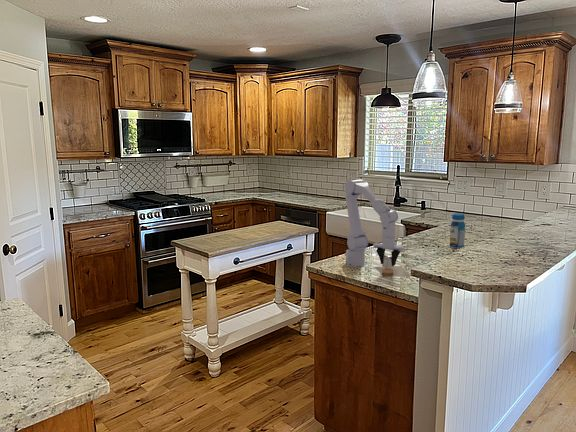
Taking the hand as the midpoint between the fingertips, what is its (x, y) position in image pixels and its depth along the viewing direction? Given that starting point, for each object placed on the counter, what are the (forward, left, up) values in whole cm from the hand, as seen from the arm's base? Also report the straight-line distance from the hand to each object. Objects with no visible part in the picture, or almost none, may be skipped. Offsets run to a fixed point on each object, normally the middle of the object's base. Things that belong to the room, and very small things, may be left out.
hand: (388, 264), depth 211 cm
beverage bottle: (+55, +51, -6) cm, 75 cm away
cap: (0, 0, -1) cm, 1 cm away
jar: (0, 0, -4) cm, 4 cm away
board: (+3, +3, -5) cm, 7 cm away
